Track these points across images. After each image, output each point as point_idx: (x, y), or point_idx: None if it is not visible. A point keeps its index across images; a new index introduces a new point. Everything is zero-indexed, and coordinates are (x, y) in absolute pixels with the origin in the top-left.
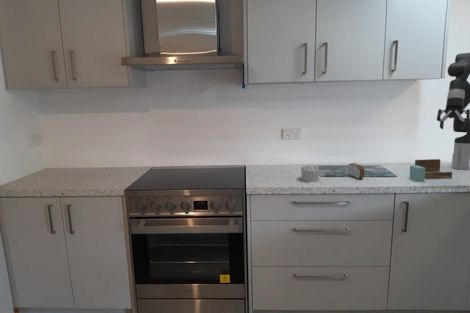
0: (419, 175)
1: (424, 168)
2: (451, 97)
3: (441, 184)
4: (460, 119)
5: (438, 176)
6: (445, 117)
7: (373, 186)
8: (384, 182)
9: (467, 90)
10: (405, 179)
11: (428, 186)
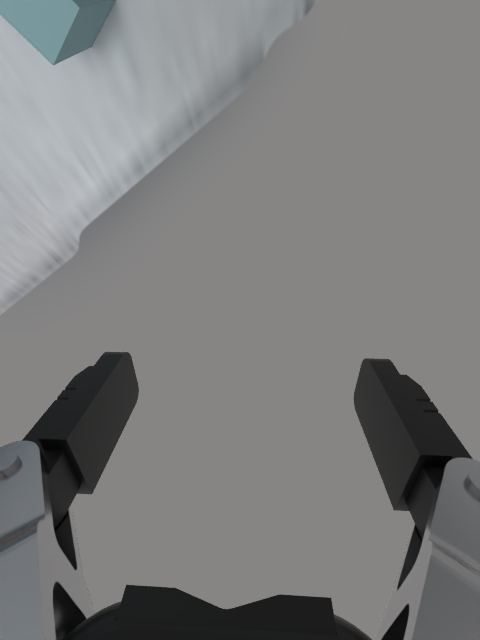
0: (82, 39)
1: (77, 13)
2: None
3: (219, 27)
4: (422, 558)
5: None
6: (89, 605)
7: (51, 248)
8: (18, 170)
9: None
10: None
11: (182, 132)
